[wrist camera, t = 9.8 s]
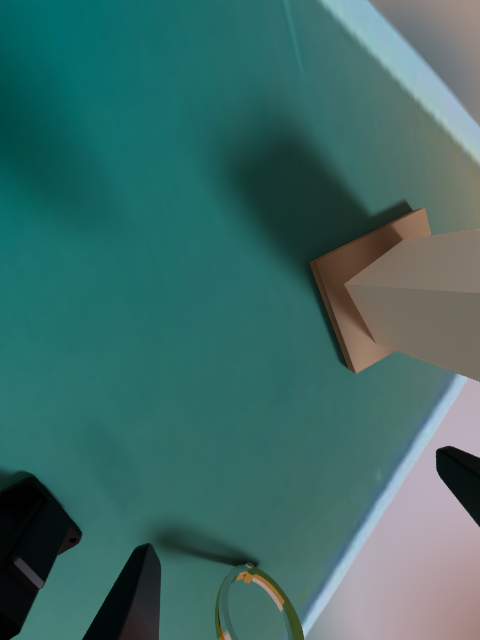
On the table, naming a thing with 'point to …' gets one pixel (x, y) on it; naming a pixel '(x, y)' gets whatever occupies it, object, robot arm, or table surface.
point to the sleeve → (426, 300)
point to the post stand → (343, 267)
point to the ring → (251, 573)
